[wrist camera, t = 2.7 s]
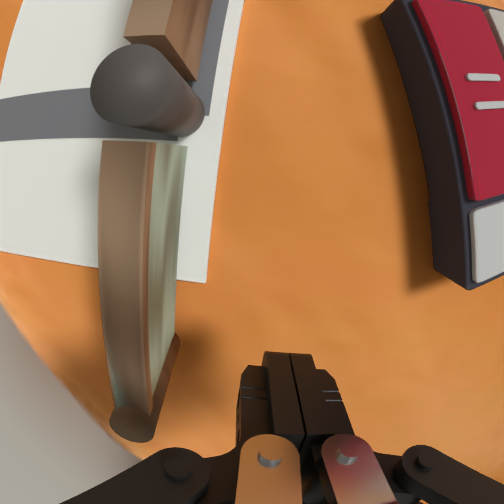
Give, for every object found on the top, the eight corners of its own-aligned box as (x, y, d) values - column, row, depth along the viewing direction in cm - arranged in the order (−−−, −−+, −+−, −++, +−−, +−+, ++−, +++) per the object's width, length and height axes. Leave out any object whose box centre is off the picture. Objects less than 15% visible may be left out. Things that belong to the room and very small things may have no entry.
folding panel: (155, 144, 13) (89, 139, 7) (194, 146, 13) (153, 141, 7) (148, 351, 16) (113, 436, 10) (179, 356, 16) (155, 446, 10)
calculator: (533, 13, 8) (577, 242, 12) (496, 28, 12) (537, 229, 16) (403, -16, 8) (473, 299, 12) (371, 18, 13) (432, 272, 16)
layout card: (34, -21, 10) (32, -22, 9) (253, -47, 11) (253, -50, 10) (-3, 248, 15) (-6, 250, 15) (206, 280, 16) (205, 283, 16)
